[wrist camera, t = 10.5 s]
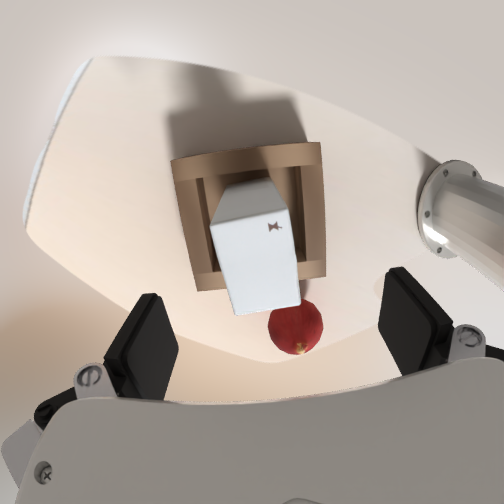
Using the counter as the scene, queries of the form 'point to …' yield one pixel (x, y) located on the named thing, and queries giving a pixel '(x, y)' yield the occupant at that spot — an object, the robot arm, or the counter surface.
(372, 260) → the counter surface
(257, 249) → the skincare box
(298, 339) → the onion
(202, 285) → the wooden tray
